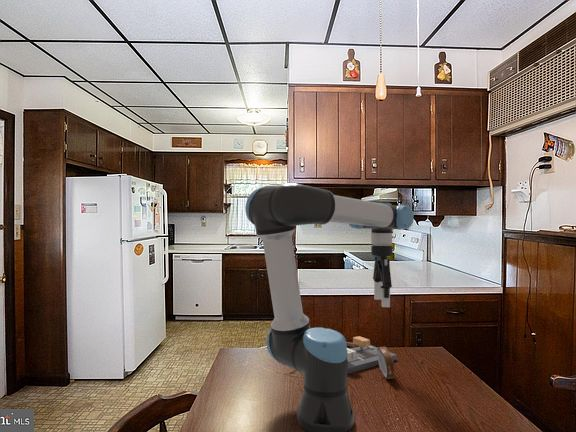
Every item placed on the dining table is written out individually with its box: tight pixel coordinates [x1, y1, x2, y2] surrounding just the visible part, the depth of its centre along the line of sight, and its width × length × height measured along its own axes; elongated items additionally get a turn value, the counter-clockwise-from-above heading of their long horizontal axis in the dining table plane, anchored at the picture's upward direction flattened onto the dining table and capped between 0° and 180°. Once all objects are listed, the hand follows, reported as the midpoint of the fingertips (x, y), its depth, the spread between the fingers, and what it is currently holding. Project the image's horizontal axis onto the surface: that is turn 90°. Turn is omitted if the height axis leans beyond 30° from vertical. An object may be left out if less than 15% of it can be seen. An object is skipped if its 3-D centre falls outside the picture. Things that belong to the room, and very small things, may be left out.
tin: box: [377, 346, 395, 380], centre depth 133 cm, size 15×3×8 cm, turn 178°
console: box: [347, 344, 398, 375], centre depth 145 cm, size 30×15×3 cm, turn 122°
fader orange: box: [352, 335, 371, 350], centre depth 151 cm, size 4×6×4 cm, turn 32°
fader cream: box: [347, 347, 356, 362], centre depth 138 cm, size 4×6×4 cm, turn 32°
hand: (381, 303), depth 138 cm, fingers open, 13 cm apart
